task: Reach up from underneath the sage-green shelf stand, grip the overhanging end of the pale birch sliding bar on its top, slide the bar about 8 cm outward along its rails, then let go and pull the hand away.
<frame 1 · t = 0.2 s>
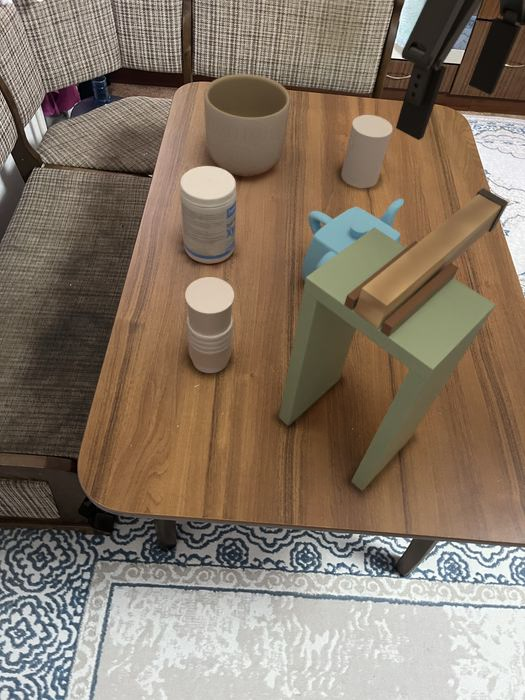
hand: (447, 109, 54), 42 cm above the table, tool pointing down, fingers open, 13 cm apart
supplement tub: (209, 248, 101), on the table
candle: (210, 358, 86), on the table
planter: (244, 163, 117), on the table
teapot: (349, 278, 98), on the table
slide bar: (435, 253, 57), point 32 cm above the table, slide at 0.0 cm
shelf stand: (344, 427, 80), on the table
white cylinder: (359, 177, 117), on the table
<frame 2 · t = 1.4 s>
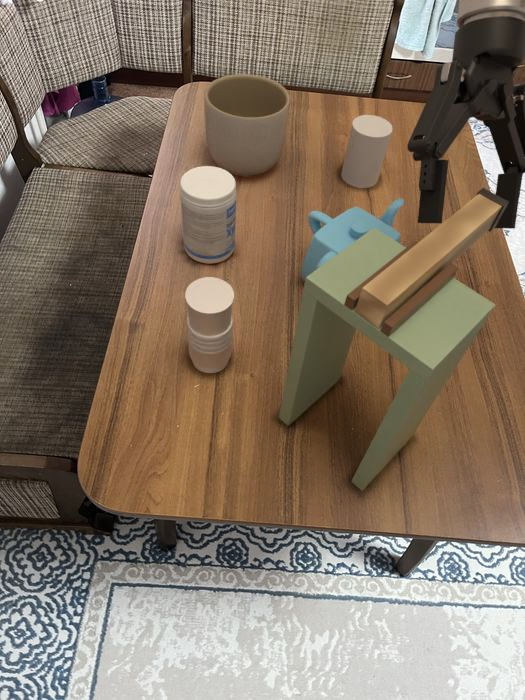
hand: (468, 226, 62), 30 cm above the table, tool tilted 40°, fingers open, 13 cm apart
slide bar: (435, 253, 57), point 32 cm above the table, slide at 0.1 cm, touching gripper
everything else where it was.
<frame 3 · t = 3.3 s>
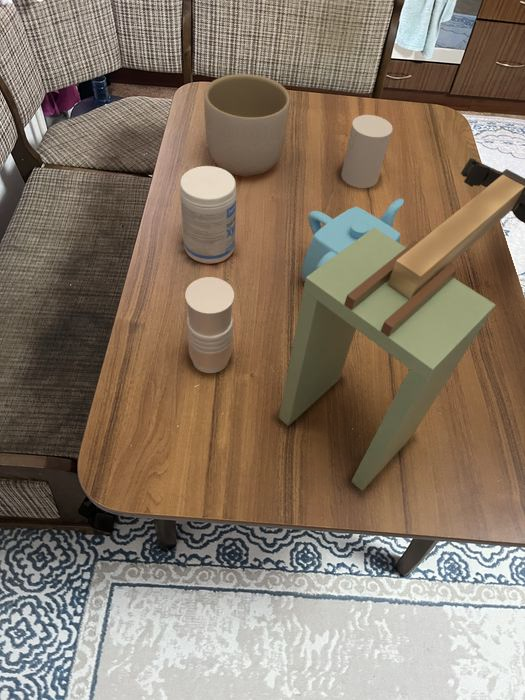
hand: (516, 199, 70), 28 cm above the table, tool pointing upward, fingers open, 13 cm apart
slide bar: (462, 230, 59), point 32 cm above the table, slide at 5.6 cm
everything else where it was.
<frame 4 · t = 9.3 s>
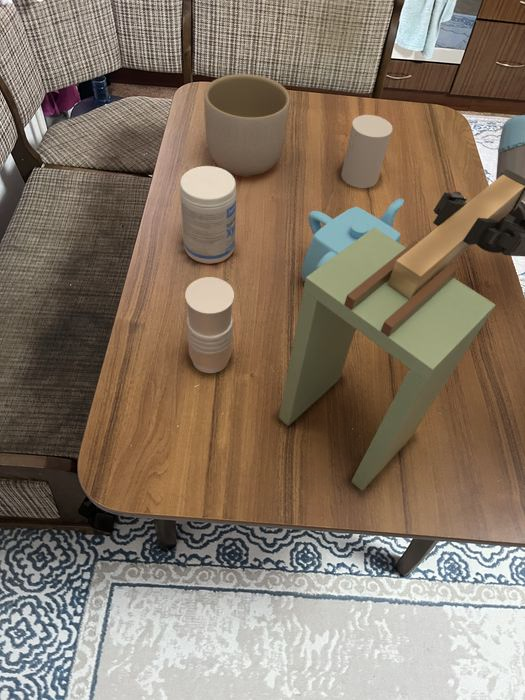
hand: (458, 222, 56), 35 cm above the table, tool pointing upward, fingers closed on slide bar, 3 cm apart
slide bar: (462, 230, 59), point 32 cm above the table, slide at 5.6 cm, touching gripper
everything else where it was.
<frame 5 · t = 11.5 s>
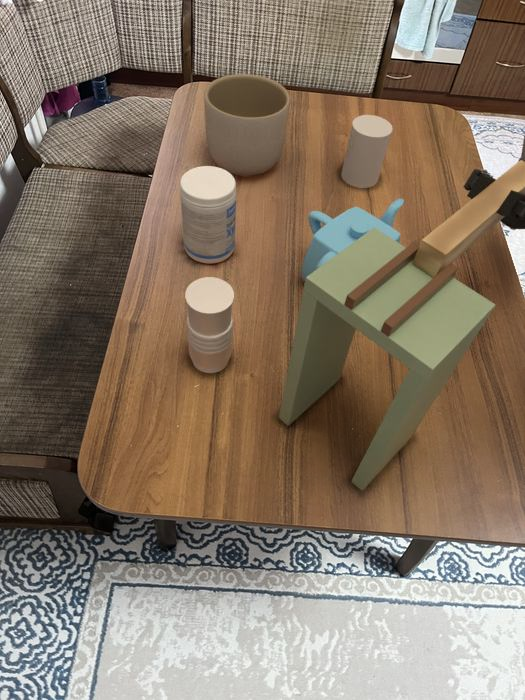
hand: (491, 194, 59), 35 cm above the table, tool pointing upward, fingers closed on slide bar, 3 cm apart
slide bar: (483, 212, 61), point 32 cm above the table, slide at 10.2 cm, touching gripper
everything else where it was.
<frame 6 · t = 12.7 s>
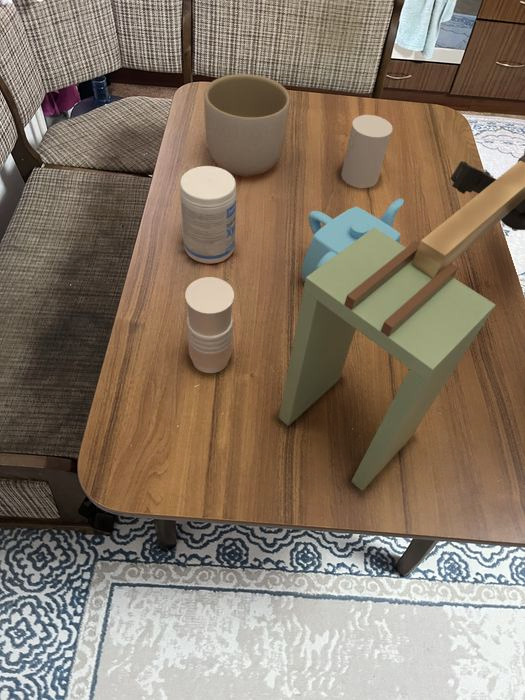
hand: (495, 195, 60), 34 cm above the table, tool pointing upward, fingers open, 8 cm apart
slide bar: (482, 213, 61), point 32 cm above the table, slide at 10.0 cm
everything else where it was.
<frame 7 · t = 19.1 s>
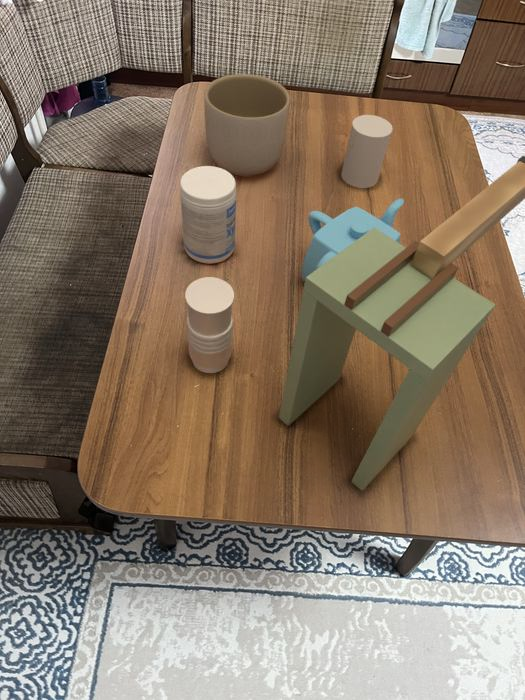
nothing on the table moved.
at the end: slide bar slide at 9.9 cm; the gripper is holding nothing; teapot moved 0.2 cm from its start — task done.
